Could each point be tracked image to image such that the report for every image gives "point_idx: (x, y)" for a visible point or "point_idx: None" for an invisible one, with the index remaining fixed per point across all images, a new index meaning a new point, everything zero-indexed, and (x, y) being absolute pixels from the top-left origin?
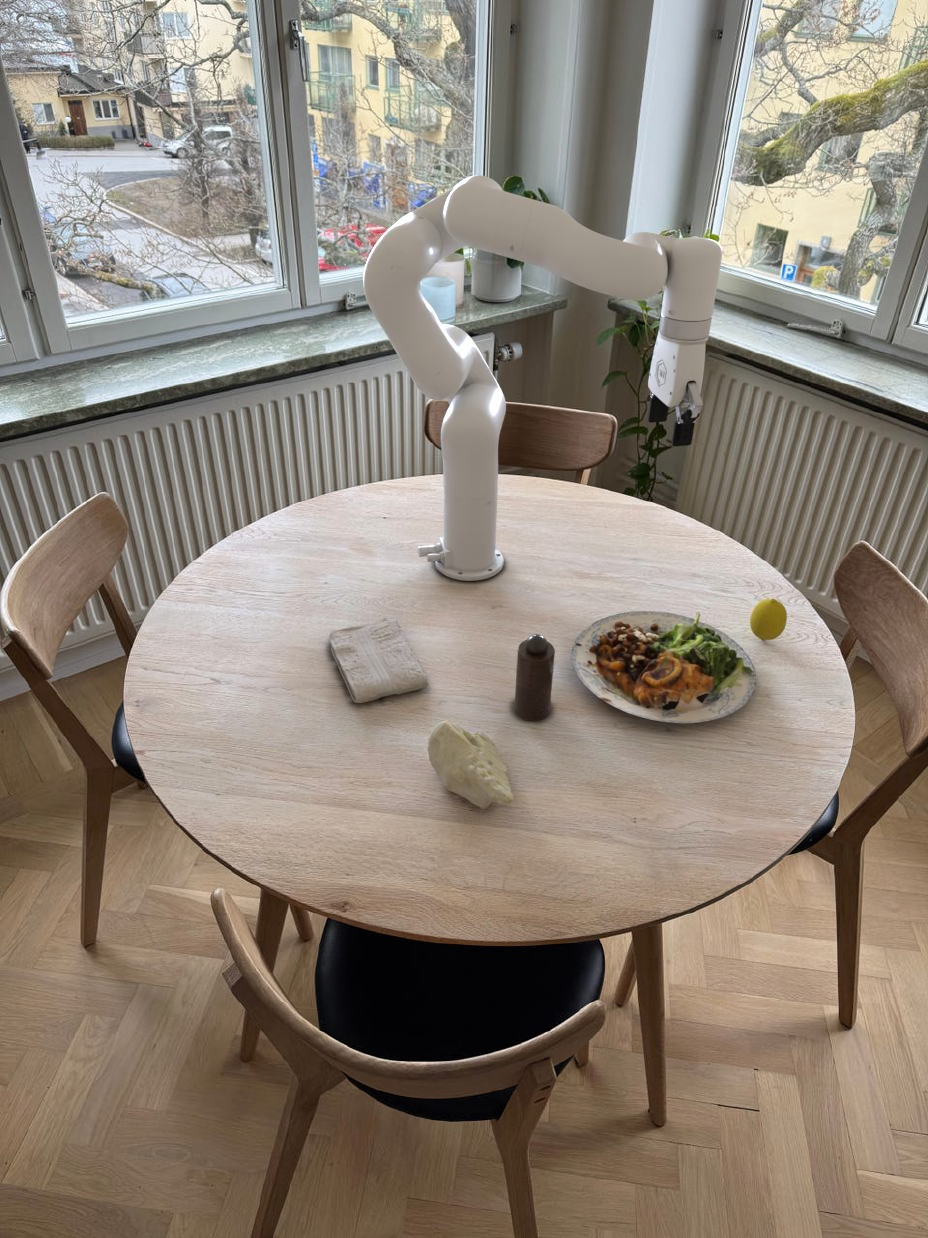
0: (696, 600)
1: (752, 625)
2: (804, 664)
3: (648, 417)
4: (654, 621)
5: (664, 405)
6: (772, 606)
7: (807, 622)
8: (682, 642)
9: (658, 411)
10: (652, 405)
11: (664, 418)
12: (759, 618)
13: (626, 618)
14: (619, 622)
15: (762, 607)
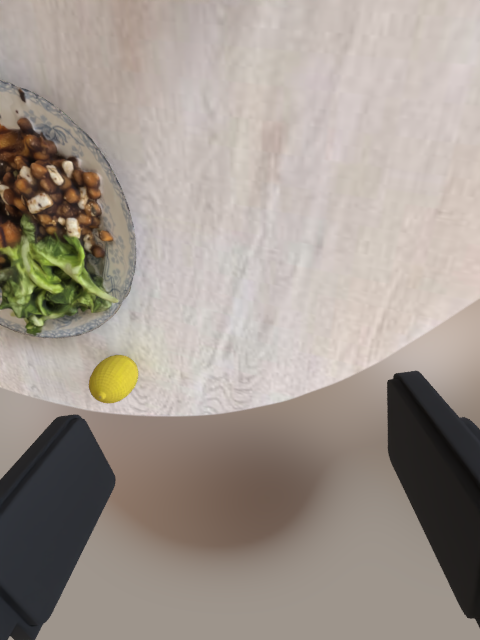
0: (204, 310)
1: (109, 358)
2: None
3: (419, 384)
4: (119, 239)
5: (439, 542)
6: (93, 391)
7: (168, 411)
8: (39, 263)
9: (418, 469)
10: (455, 476)
11: (394, 459)
12: (95, 369)
13: (114, 195)
14: (85, 178)
15: (96, 379)
